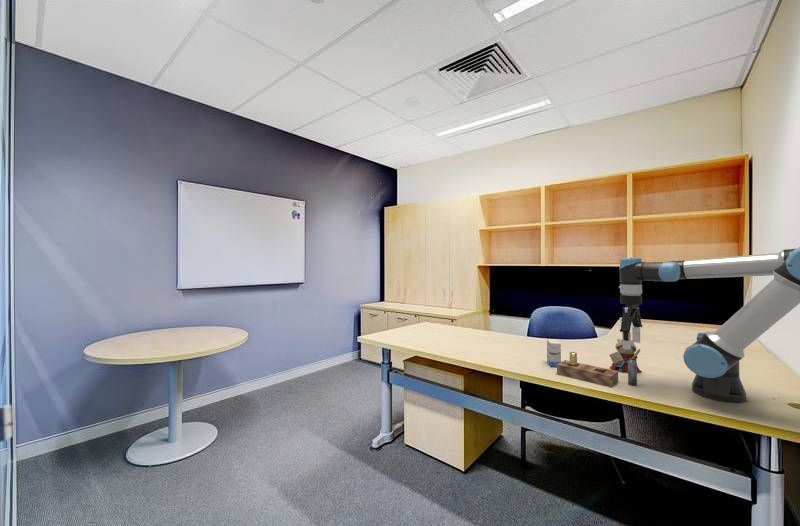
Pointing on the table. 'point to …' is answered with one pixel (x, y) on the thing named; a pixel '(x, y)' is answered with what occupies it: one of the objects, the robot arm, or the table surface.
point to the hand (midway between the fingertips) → (631, 345)
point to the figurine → (623, 356)
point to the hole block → (588, 373)
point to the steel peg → (632, 372)
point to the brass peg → (573, 359)
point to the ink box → (553, 352)
